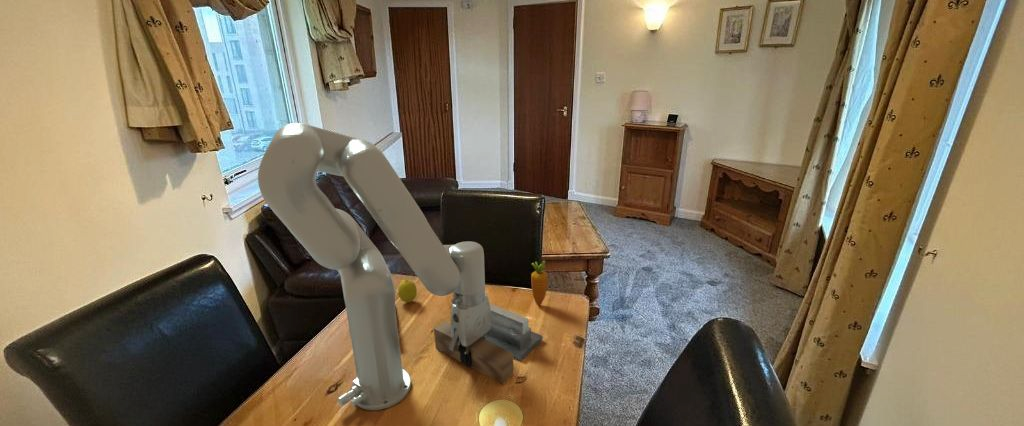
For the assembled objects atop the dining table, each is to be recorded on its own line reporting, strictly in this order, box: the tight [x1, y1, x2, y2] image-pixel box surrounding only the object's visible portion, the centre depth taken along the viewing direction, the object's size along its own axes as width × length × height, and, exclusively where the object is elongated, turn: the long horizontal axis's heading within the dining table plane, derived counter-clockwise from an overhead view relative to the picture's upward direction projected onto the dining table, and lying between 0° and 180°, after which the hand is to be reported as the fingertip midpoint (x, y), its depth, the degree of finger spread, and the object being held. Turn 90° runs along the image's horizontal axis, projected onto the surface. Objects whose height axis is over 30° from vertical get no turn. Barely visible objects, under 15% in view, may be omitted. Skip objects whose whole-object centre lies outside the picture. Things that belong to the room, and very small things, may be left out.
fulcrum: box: [485, 302, 543, 362], centre depth 108 cm, size 10×20×8 cm, turn 54°
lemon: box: [397, 279, 418, 304], centre depth 125 cm, size 6×6×8 cm
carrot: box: [530, 260, 548, 307], centre depth 122 cm, size 5×5×15 cm
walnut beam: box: [433, 320, 514, 385], centre depth 100 cm, size 22×4×6 cm, turn 54°
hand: (472, 358), depth 100 cm, fingers closed on walnut beam, 4 cm apart
